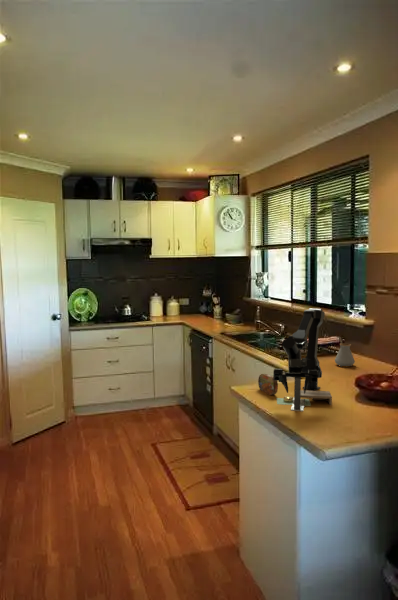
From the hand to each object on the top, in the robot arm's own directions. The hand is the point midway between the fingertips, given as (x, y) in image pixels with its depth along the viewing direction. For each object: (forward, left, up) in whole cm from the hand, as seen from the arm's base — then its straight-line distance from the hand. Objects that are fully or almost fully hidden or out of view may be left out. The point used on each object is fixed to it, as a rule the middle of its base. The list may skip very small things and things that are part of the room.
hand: (296, 392), depth 193 cm
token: (-9, -9, -8) cm, 15 cm away
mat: (-10, -7, -8) cm, 15 cm away
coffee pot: (-95, -25, -8) cm, 99 cm away
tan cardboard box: (-16, -1, -8) cm, 18 cm away
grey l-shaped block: (-7, -3, -8) cm, 11 cm away
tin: (-14, -24, -8) cm, 29 cm away
